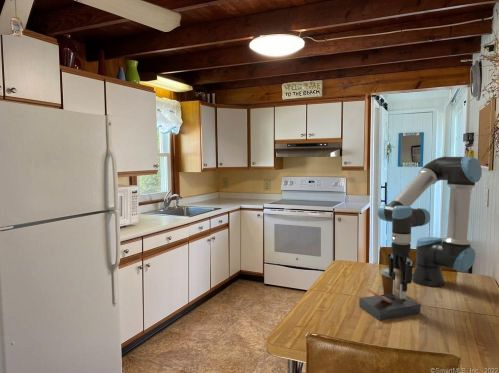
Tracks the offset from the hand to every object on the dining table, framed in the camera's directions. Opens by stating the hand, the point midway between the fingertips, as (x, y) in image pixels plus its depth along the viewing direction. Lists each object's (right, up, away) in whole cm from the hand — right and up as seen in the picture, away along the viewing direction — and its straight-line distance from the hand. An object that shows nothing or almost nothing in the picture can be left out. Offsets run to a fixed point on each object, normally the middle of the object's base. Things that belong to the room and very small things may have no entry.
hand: (399, 296), depth 159 cm
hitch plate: (-5, -6, -1) cm, 8 cm away
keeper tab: (-10, 0, -3) cm, 10 cm away
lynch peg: (0, -3, 0) cm, 3 cm away
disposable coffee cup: (+2, -4, +16) cm, 17 cm away
